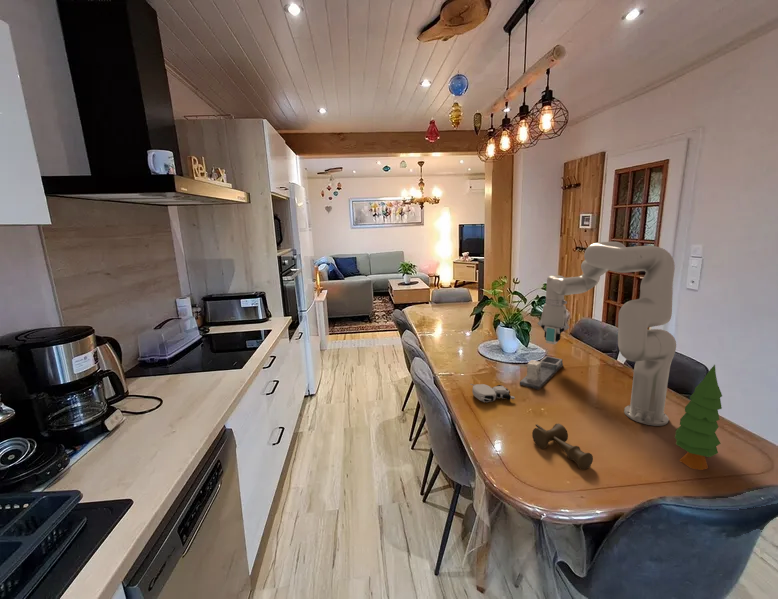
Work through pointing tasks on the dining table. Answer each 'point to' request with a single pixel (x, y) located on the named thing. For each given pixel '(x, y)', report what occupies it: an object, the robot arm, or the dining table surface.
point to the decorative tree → (700, 423)
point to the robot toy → (490, 392)
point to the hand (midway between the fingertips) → (552, 339)
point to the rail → (541, 371)
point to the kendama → (561, 444)
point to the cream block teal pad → (551, 335)
